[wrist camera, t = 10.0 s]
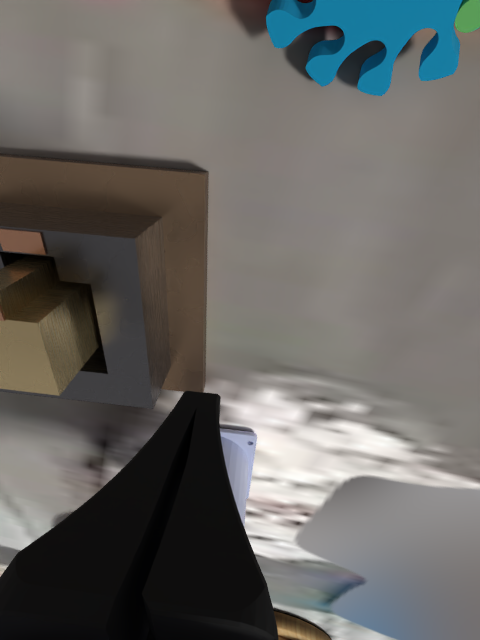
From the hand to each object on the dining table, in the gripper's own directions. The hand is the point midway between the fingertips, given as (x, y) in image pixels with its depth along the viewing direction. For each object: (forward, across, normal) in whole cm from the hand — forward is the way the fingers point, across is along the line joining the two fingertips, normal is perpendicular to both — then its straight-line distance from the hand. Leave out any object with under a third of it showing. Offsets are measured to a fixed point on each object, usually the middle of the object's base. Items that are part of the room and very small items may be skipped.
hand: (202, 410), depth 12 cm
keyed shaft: (+8, +9, 0) cm, 12 cm away
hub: (+9, +9, 0) cm, 13 cm away
